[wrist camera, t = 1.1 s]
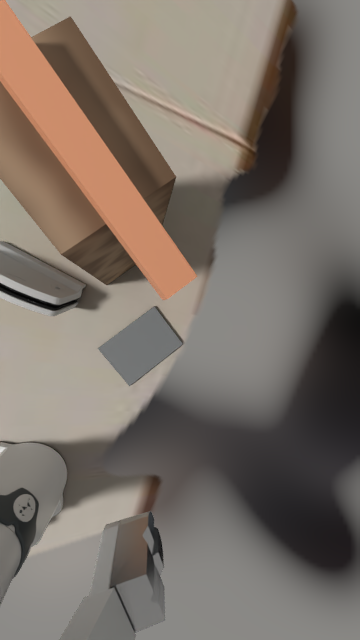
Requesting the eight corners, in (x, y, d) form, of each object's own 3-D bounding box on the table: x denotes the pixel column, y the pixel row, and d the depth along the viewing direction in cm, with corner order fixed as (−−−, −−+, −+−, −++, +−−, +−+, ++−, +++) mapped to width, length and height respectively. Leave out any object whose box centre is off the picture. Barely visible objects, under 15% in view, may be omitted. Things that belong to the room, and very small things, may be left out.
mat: (129, 385, 45) (129, 386, 45) (98, 348, 44) (97, 348, 43) (182, 343, 47) (182, 344, 46) (154, 306, 45) (154, 306, 45)
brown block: (106, 285, 43) (61, 254, 18) (59, 224, 41) (-70, 91, 16) (154, 250, 45) (176, 176, 19) (111, 190, 43) (70, 16, 17)
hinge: (88, 285, 43) (63, 299, 33) (79, 305, 44) (53, 323, 35) (1, 240, 40) (-53, 241, 30) (-6, 263, 41) (-59, 270, 32)
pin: (162, 300, 20) (167, 299, 17) (-15, 61, 16) (-49, 7, 13) (188, 280, 20) (197, 276, 17) (20, 42, 17) (-5, -14, 14)
